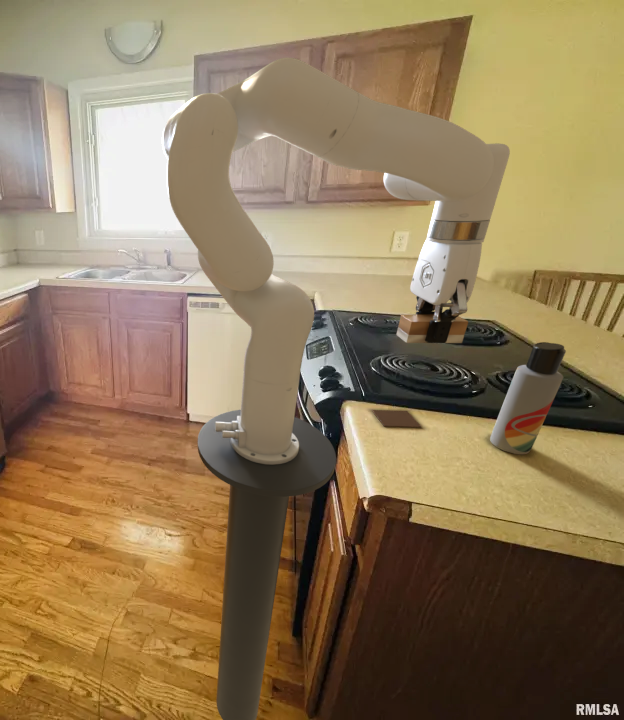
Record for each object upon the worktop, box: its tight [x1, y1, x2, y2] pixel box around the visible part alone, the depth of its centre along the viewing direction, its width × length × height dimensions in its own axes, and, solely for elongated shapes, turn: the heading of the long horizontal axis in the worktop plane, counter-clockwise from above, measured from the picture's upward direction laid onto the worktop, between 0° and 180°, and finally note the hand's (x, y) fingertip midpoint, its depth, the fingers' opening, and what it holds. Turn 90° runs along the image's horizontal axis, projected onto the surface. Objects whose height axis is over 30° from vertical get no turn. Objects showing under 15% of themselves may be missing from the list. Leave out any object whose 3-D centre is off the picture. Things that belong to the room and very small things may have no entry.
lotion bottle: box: [489, 341, 567, 455], centre depth 68 cm, size 6×6×20 cm
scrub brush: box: [395, 314, 469, 344], centre depth 70 cm, size 9×4×4 cm, turn 83°
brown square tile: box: [371, 409, 422, 428], centre depth 81 cm, size 7×6×1 cm
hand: (428, 336), depth 71 cm, fingers closed on scrub brush, 4 cm apart
